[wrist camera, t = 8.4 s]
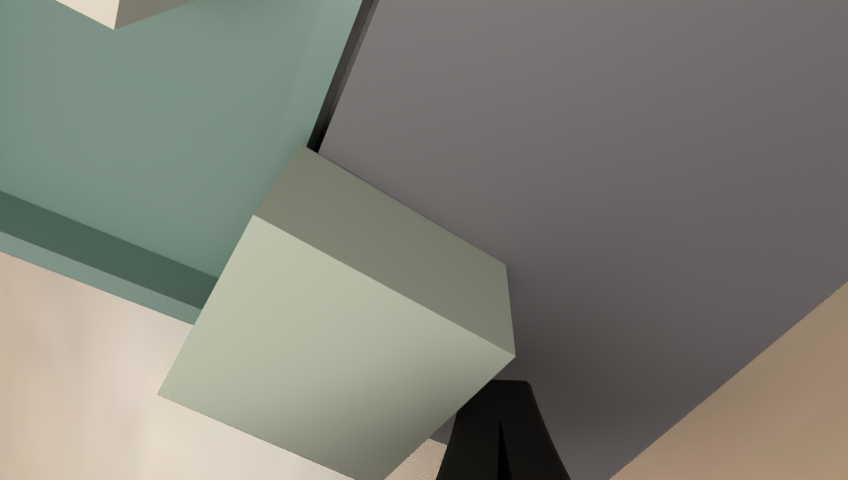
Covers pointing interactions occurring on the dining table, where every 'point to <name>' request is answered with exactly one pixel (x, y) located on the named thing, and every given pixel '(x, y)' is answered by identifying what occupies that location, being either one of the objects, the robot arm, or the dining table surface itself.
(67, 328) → the dining table surface
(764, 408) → the dining table surface
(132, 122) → the tray
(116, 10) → the cream tile
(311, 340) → the sage tile
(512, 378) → the charcoal board
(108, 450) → the dining table surface
